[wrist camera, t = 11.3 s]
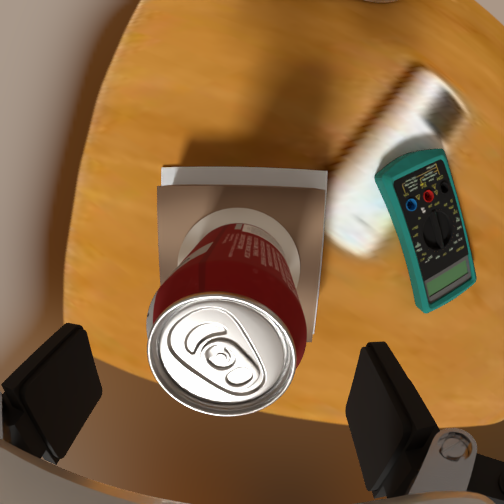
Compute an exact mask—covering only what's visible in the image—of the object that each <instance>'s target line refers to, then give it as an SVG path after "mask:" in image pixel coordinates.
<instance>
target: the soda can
mask: <svg viewBox="0 0 504 504" xmlns="http://www.w3.org/2000/svg"><path fill="white" fill-rule="evenodd" d="M147 337H148V343H147V355H148V361H149V365H150V368H151V370H152V372H153V374H154V376H155V378H156V380H157V381H158V382H159V384H160V385H161V386H162V388H163V389H164V390H165V391H166V392H167V393H168V394H170V395H171V396H172V397H173V398H174V399H176V400H177V401H178V402H180V403H182V404H184V405H185V406H188V407H189V408H191V409H194V410H196V411H199V412H202V413H206V414H210V415H216V416H239V415H245V414H250V413H253V412H256V411H259V410H261V409H263V408H265V407H267V406H269V405H271V404H272V403H273V402H275V401H276V400H277V399H278V398H280V397H281V396H282V395H283V393H284V392H285V391H286V390H287V388H288V387H289V385H290V384H291V381H292V379H293V377H294V374H295V370H296V368H297V367H298V365H299V363H300V361H301V359H302V357H303V354H304V351H305V347H306V342H307V326H306V320H305V316H304V313H303V310H302V307H301V303H300V300H299V297H298V294H297V291H296V288H295V285H294V282H293V279H292V276H291V273H290V269H289V266H288V263H287V260H286V257H285V254H284V252H283V250H282V248H281V246H280V245H279V243H278V242H277V241H276V240H275V238H274V237H272V236H271V235H270V234H269V233H268V232H266V231H265V230H263V229H261V228H259V227H257V226H254V225H251V224H246V223H231V224H226V225H223V226H220V227H218V228H216V229H214V230H212V231H211V232H209V233H208V234H207V235H206V236H204V238H203V239H202V240H201V241H200V242H199V243H198V244H197V245H196V246H195V248H194V249H193V250H192V251H191V252H190V253H189V254H188V255H187V257H186V258H185V259H184V260H183V261H182V262H181V263H180V264H179V266H178V267H177V268H176V269H175V270H174V271H173V273H172V274H171V275H170V276H169V277H168V278H167V279H166V281H165V282H164V283H163V284H162V285H161V286H160V288H159V289H158V291H157V292H156V294H155V295H154V297H153V299H152V302H151V304H150V307H149V310H148V315H147Z"/></svg>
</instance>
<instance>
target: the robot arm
mask: <svg viewBox="0 0 504 504" xmlns="http://www.w3.org/2000/svg"><path fill="white" fill-rule="evenodd" d="M364 1H370V2H377V3H388V2H393V1H397V0H364ZM2 387H3V389H4V391H5V392H4V393H3V394H2V393H1V392H0V504H189V503H182V502H177V501H171V500H166V499H160V498H156V497H152V496H147V495H143V494H139V493H134V492H131V491H127V490H123V489H119V488H116V487H113V486H110V485H107V484H103V483H100V482H97V481H94V480H91V479H88V478H86V477H83V476H80V475H77V474H74V473H72V472H70V471H67V470H65V469H62V468H60V467H58V466H55V465H57V463H58V461H59V459H62V458H63V457H64V456H65V455H66V453H67V451H68V450H69V448H70V446H71V445H72V443H73V441H74V440H75V438H76V436H77V435H78V433H79V431H80V430H81V428H82V427H83V425H84V423H85V422H86V420H87V418H88V417H89V415H90V414H91V412H92V410H93V409H94V407H95V405H96V404H97V402H98V401H99V399H100V398H101V395H102V386H101V383H100V380H99V377H98V373H97V370H96V366H95V363H94V359H93V355H92V352H91V348H90V344H89V340H88V336H87V332H86V331H85V330H84V329H83V327H82V326H81V325H77V324H71V323H66V324H64V325H63V326H62V327H61V328H60V329H59V330H58V331H57V332H55V333H54V334H53V335H52V336H51V337H50V338H49V339H48V340H47V341H46V342H45V343H44V344H42V345H41V346H40V347H39V348H38V349H37V350H36V351H35V352H34V353H33V354H32V355H31V356H30V357H29V358H28V359H27V360H26V361H24V363H22V365H20V366H19V367H18V368H17V369H16V370H15V371H14V372H13V373H12V374H11V375H10V376H9V377H8V378H7V379H6V380H5V381H4V382H3V383H2ZM346 417H347V421H348V424H349V428H350V431H351V434H352V438H353V441H354V445H355V448H356V452H357V456H358V459H359V463H360V466H361V470H362V474H363V478H364V481H365V485H366V488H367V490H368V491H372V493H373V496H374V498H379V497H383V496H387V499H381V500H375V501H370V502H364V503H357V504H504V462H502V461H499V460H496V459H492V458H489V457H486V456H483V455H480V454H477V445H476V442H475V440H474V438H473V437H472V436H471V435H470V434H469V433H467V432H466V431H463V430H461V429H457V428H447V429H444V430H441V431H440V430H439V428H438V426H437V424H436V422H435V421H434V419H433V417H432V416H431V414H430V412H429V410H428V409H427V407H426V405H425V404H424V402H423V400H422V398H421V397H420V395H419V393H418V392H417V390H416V389H415V387H414V385H413V384H412V382H411V381H410V379H409V378H408V377H407V375H406V374H405V372H404V370H403V369H402V367H401V366H400V364H399V362H398V361H397V359H396V358H395V356H394V354H393V353H392V351H391V350H390V348H389V347H388V345H387V344H386V342H369V343H367V345H366V347H362V349H361V351H360V355H359V360H358V364H357V368H356V372H355V375H354V379H353V383H352V387H351V390H350V394H349V397H348V401H347V404H346ZM41 457H43V458H44V459H45V460H47V461H49V462H51V463H53V464H55V465H53V464H51V463H48V462H46V461H44V460H42V459H41Z"/></svg>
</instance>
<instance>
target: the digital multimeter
mask: <svg viewBox="0 0 504 504" xmlns="http://www.w3.org/2000/svg"><path fill="white" fill-rule="evenodd" d="M375 182H376V184H377V186H378V188H379V190H380V193H381V195H382V197H383V199H384V202H385V204H386V206H387V209H388V211H389V214H390V216H391V219H392V221H393V224H394V227H395V229H396V232H397V235H398V238H399V240H400V244H401V247H402V250H403V254H404V257H405V260H406V264H407V268H408V271H409V276H410V280H411V285H412V289H413V294H414V299H415V304H416V306H417V307H418V308H419V309H420V310H421V311H422V312H424V313H429V312H431V311H433V310H435V309H437V308H439V307H441V306H443V305H445V304H446V303H448V302H450V301H451V300H453V299H454V298H456V297H458V296H459V295H460V294H462V293H463V292H464V291H466V290H467V289H468V288H469V287H470V286H472V285H473V284H474V283H475V282H476V272H475V268H474V263H473V259H472V254H471V250H470V246H469V242H468V237H467V233H466V229H465V225H464V221H463V217H462V213H461V209H460V205H459V201H458V197H457V193H456V190H455V186H454V182H453V179H452V175H451V172H450V168H449V165H448V161H447V158H446V155H445V152H444V150H443V149H430V150H421V151H416V152H411V153H407V154H405V155H403V156H401V157H398V158H397V159H395V160H394V161H392V162H391V163H389V164H388V165H387V166H385V167H384V168H383V169H382V170H381V171H379V172H378V173H377V174H376V175H375ZM398 199H399V200H398ZM403 213H404V214H403ZM404 216H405V217H404ZM405 219H406V220H405ZM406 222H407V223H406ZM407 225H408V226H407ZM452 237H453V238H452ZM412 241H413V242H412ZM415 251H416V252H415ZM434 251H435V252H434ZM437 251H438V252H437ZM417 258H418V259H417ZM420 269H421V270H420Z"/></svg>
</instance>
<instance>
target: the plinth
mask: <svg viewBox="0 0 504 504" xmlns="http://www.w3.org/2000/svg"><path fill="white" fill-rule="evenodd" d="M324 208H325V190H323V189H318V188H307V187H288V186H263V185H218V184H181V185H164V186H157V215H158V247H159V267H160V283H161V285H162V284H163V283H164V282H165V281H166V279H167V278H168V277H169V276H170V275H171V274H172V273H173V271H174V270H175V269H176V268H177V267H178V266H179V264H180V263H181V262H182V261H183V260H184V259H185V258H186V257H187V255H188V254H189V253H190V252H191V251H192V250H193V249H194V248H195V246H196V245H197V244H198V243H199V242H200V241H201V240H202V239H203V238H204V236H206V235H207V234H208V233H209V232H211V231H212V230H214V229H216V228H218V227H220V226H223V225H226V224H231V223H246V224H251V225H254V226H257V227H259V228H261V229H263V230H265V231H266V232H268V233H269V234H270V235H271V236H272V237H274V238H275V240H276V241H277V242H278V243H279V245H280V246H281V248H282V250H283V252H284V254H285V257H286V260H287V263H288V266H289V269H290V273H291V276H292V279H293V282H294V285H295V288H296V291H297V294H298V297H299V300H300V303H301V307H302V310H303V313H304V316H305V320H306V326H307V342H312V335H313V327H314V319H315V311H316V302H317V293H318V283H319V273H320V262H321V250H322V238H323V224H324Z"/></svg>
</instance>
